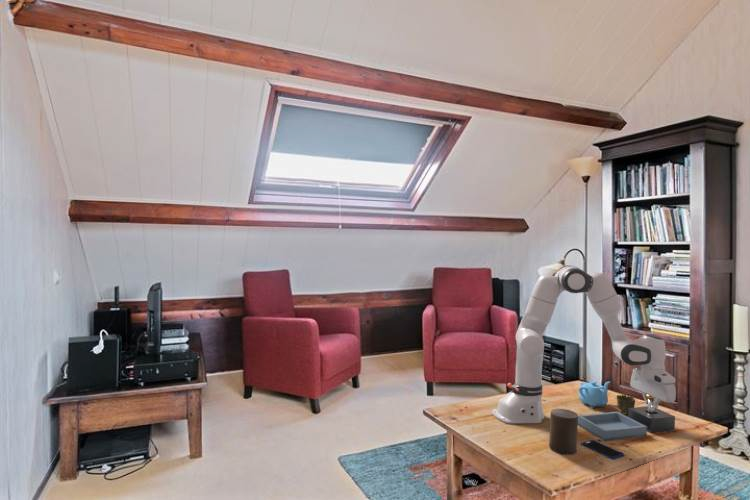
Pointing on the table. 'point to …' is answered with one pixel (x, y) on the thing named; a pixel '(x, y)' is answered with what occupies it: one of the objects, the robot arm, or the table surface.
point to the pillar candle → (563, 431)
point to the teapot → (593, 394)
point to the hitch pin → (650, 404)
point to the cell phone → (603, 449)
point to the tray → (612, 426)
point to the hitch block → (653, 419)
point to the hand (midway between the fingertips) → (651, 405)
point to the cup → (625, 403)
